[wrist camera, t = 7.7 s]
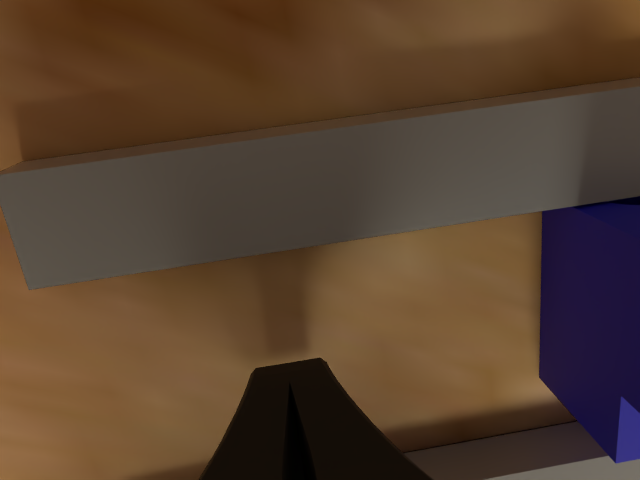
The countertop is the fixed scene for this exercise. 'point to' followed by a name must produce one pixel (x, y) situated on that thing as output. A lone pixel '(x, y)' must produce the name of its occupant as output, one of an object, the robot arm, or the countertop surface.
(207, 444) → the countertop surface
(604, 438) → the cable clip
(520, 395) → the countertop surface
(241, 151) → the cable guide
